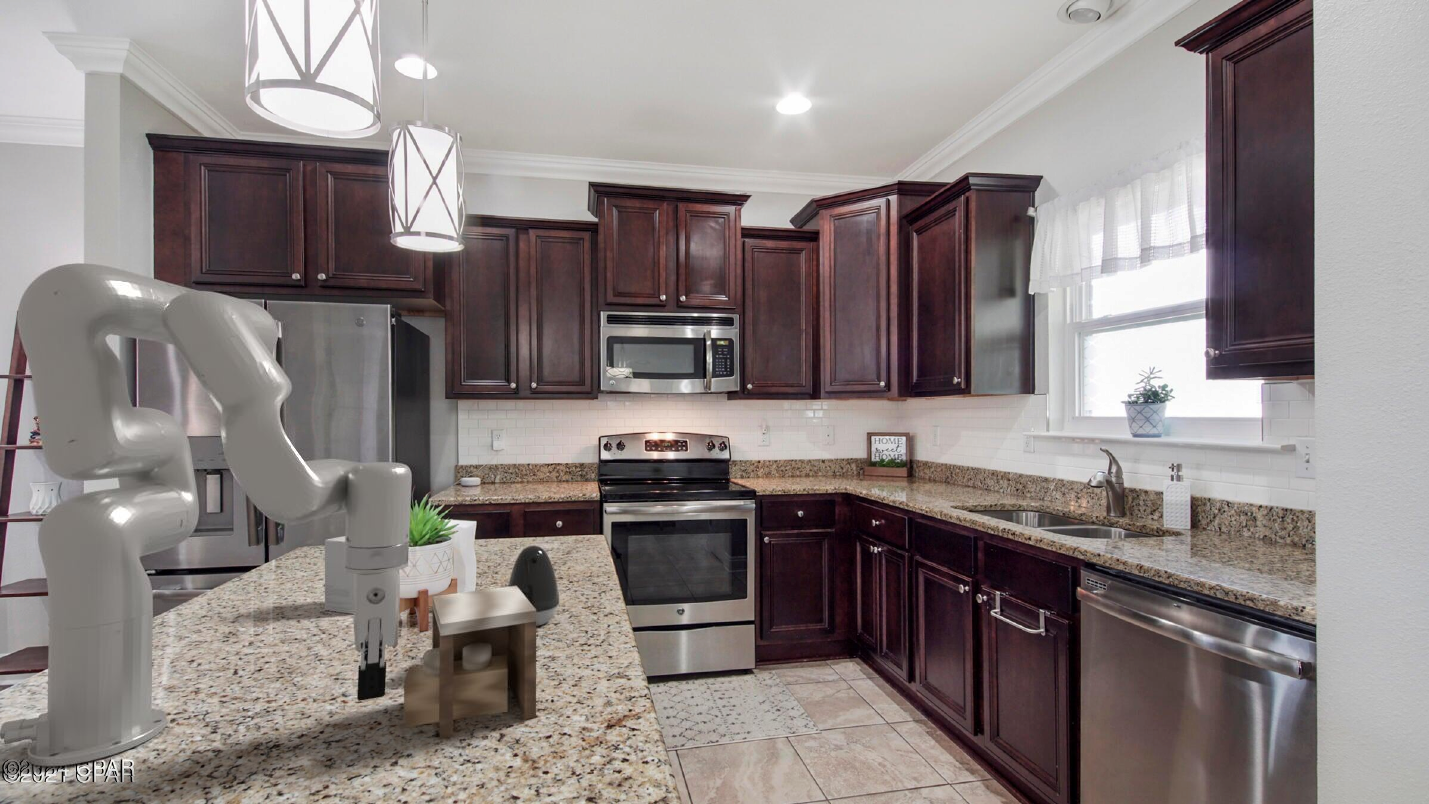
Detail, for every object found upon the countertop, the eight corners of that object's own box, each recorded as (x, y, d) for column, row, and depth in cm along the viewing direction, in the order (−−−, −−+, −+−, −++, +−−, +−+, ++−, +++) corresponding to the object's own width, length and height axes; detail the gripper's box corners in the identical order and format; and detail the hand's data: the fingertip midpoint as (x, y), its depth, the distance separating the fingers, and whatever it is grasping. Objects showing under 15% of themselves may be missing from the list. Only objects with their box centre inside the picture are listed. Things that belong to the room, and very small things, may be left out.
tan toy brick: (506, 695, 93) (506, 637, 93) (507, 712, 88) (507, 650, 88) (408, 709, 89) (409, 648, 89) (403, 728, 83) (404, 663, 84)
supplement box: (390, 603, 138) (391, 534, 139) (354, 615, 130) (354, 542, 130) (360, 598, 142) (360, 531, 142) (322, 610, 133) (323, 539, 134)
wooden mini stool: (440, 739, 80) (440, 624, 80) (432, 695, 93) (432, 596, 93) (536, 717, 86) (536, 610, 86) (516, 679, 98) (516, 585, 98)
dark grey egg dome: (508, 635, 118) (508, 553, 118) (503, 618, 128) (503, 543, 128) (563, 627, 122) (563, 548, 122) (554, 612, 132) (554, 539, 132)
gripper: (411, 566, 79) (405, 715, 78) (406, 543, 92) (401, 670, 91) (341, 572, 75) (334, 727, 75) (346, 547, 88) (340, 679, 88)
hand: (371, 695), depth 83 cm, fingers closed
